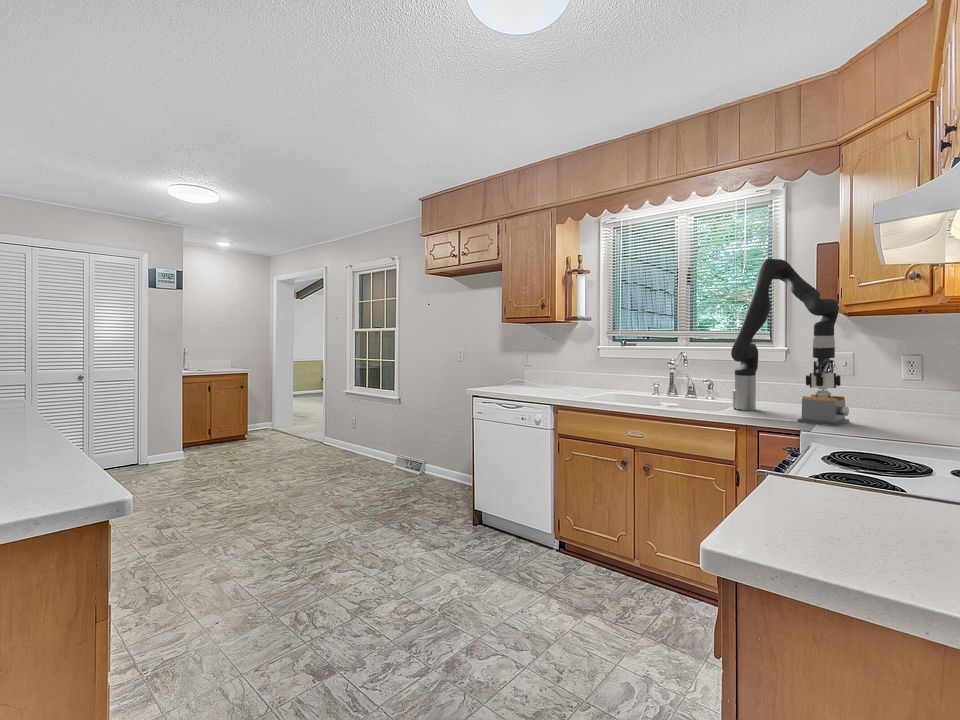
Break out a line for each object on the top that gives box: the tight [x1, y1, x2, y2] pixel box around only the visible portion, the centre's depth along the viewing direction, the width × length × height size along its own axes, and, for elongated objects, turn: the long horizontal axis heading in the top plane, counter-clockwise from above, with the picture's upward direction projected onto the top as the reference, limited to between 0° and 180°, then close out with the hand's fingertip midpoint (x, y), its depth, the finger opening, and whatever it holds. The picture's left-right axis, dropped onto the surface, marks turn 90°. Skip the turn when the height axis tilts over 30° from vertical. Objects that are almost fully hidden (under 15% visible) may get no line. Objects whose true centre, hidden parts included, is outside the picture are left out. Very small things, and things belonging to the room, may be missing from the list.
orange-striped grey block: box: [797, 394, 850, 426], centre depth 200 cm, size 15×14×11 cm
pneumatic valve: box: [805, 372, 842, 398], centre depth 201 cm, size 6×12×12 cm, turn 51°
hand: (823, 385), depth 201 cm, fingers open, 8 cm apart
